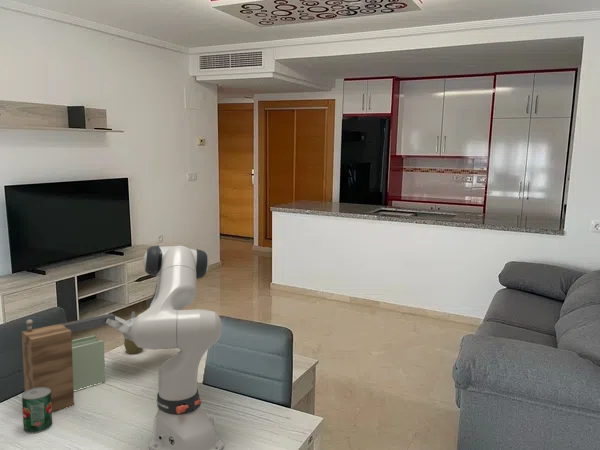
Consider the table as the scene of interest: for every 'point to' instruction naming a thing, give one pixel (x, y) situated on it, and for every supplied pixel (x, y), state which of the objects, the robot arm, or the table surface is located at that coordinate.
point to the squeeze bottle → (131, 342)
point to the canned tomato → (37, 409)
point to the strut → (88, 323)
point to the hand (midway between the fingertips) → (103, 319)
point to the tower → (49, 362)
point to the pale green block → (88, 362)
